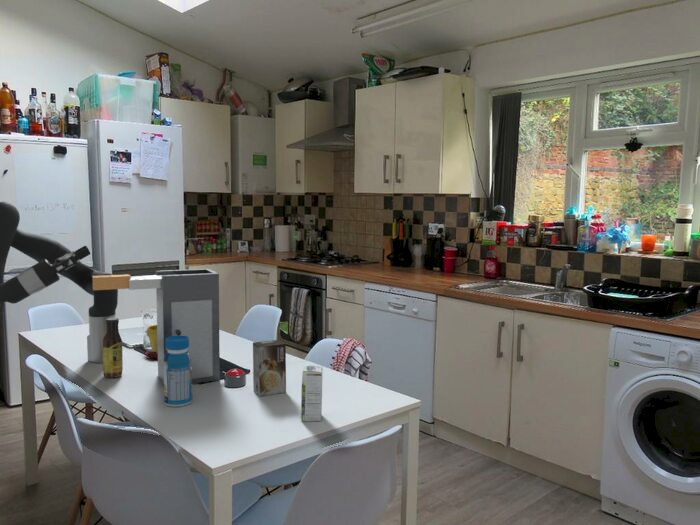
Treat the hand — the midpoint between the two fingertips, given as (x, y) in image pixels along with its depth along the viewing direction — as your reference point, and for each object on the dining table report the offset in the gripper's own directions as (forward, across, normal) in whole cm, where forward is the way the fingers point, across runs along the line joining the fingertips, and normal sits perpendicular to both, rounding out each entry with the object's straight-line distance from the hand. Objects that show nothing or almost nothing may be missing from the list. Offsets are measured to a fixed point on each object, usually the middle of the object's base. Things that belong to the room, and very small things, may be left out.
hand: (88, 249), depth 181 cm
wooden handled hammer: (+6, 0, +18) cm, 19 cm away
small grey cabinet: (+4, 0, +54) cm, 54 cm away
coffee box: (+21, -24, +64) cm, 72 cm away
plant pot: (0, +39, +52) cm, 65 cm away
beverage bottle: (-3, -23, +50) cm, 55 cm away
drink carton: (+25, -50, +66) cm, 87 cm away
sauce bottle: (-17, +12, +43) cm, 47 cm away
